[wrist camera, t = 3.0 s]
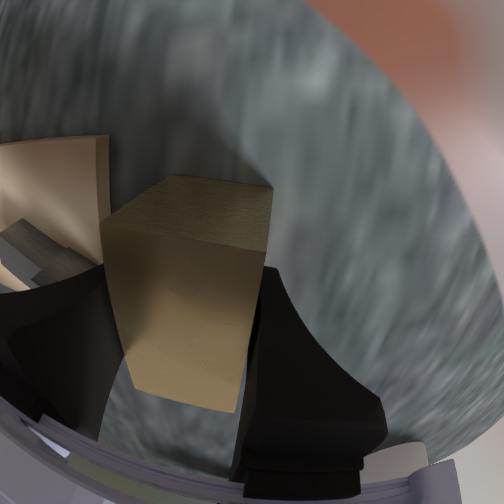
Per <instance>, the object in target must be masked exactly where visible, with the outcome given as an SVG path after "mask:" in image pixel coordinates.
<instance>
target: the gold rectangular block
mask: <svg viewBox="0 0 504 504" xmlns="http://www.w3.org/2000/svg"><path fill="white" fill-rule="evenodd" d="M273 191H274V188H268V187H262V186H256V185H249V184H243V183H236V182H229V181H222V180H215V179H207V178H199V177H191V176H183V175H173V174H171V175H170V176H168V177H166V178H165V179H163V180H162V181H160V182H158V183H157V184H155V185H154V186H152V187H151V188H149V189H148V190H146V191H144V192H143V193H141V194H140V195H138V196H137V197H135V198H134V199H133V200H131V201H130V202H128V203H127V204H125V205H124V206H122V207H121V208H120V209H118V210H117V211H115V212H114V213H112V214H111V215H110V216H108V217H107V218H106V219H104V220H103V221H102V222H100V223H99V232H100V240H101V248H102V255H103V262H104V268H105V274H106V280H107V285H108V290H109V295H110V300H111V305H112V309H113V314H114V318H115V322H116V326H117V330H118V334H119V338H120V341H121V345H122V349H123V352H124V356H125V359H126V362H127V365H128V369H129V372H130V375H131V378H132V381H133V384H134V387H135V389H138V390H141V391H144V392H147V393H150V394H154V395H157V396H160V397H164V398H167V399H171V400H175V401H179V402H183V403H187V404H191V405H195V406H200V407H204V408H209V409H214V410H219V411H224V412H230V413H235V408H236V403H237V399H238V394H239V389H240V384H241V379H242V374H243V369H244V365H245V360H246V355H247V350H248V345H249V340H250V335H251V330H252V325H253V319H254V314H255V309H256V304H257V299H258V294H259V289H260V283H261V278H262V273H263V268H264V262H265V257H266V251H267V243H268V234H269V226H270V217H271V209H272V200H273Z"/></svg>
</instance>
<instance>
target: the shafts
mask: <svg viewBox="0 0 504 504" xmlns="http://www.w3.org/2000/svg"><path fill="white" fill-rule="evenodd" d="M0 261H1V264H2V265H3V266H4V267H5V268H6V269H7V270H9V271H10V272H11V273H12V274H13V275H14V276H15V277H17V278H18V279H19V280H20V281H21V282H23V283H24V284H25V285H26V286H28V287H29V288H30V289H33V288H37V287H41V286H44V285H48V284H52V283H55V282H58V281H61V280H64V279H67V278H70V277H73V276H75V275H78V274H80V273H83V272H85V271H87V270H89V269H91V268H94V267H96V266H98V265H97V264H96V263H94V262H92V261H91V260H89V259H87V258H86V257H84V256H83V255H81V254H79V253H78V252H76V251H75V250H73V249H72V248H70V247H67V248H65V247H63V246H62V245H60V244H59V243H57V242H56V241H54V240H53V239H51V238H50V237H48V236H47V235H46V234H44V233H43V232H41V231H40V230H38V229H37V228H36V227H34V226H33V225H32V224H30V223H29V222H27V221H26V220H25V219H23V218H22V219H20V220H18V221H17V222H15V223H14V224H12V225H11V226H9V227H8V228H6V229H5V230H3V231H2V232H0Z"/></svg>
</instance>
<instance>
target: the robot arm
mask: <svg viewBox="0 0 504 504" xmlns="http://www.w3.org/2000/svg"><path fill="white" fill-rule="evenodd" d="M123 357H124V352H123V349H122V345H121V341H120V338H119V334H118V330H117V326H116V322H115V318H114V314H113V309H112V305H111V300H110V295H109V290H108V285H107V280H106V274H105V268H104V263H103V264H100V265H98V266H96V267H94V268H91V269H89V270H87V271H85V272H83V273H80V274H78V275H75V276H73V277H70V278H67V279H64V280H61V281H58V282H55V283H52V284H48V285H44V286H41V287H37V288H33V289H29V290H24V291H18V292H12V293H3V294H0V504H153V503H150V502H147V501H144V500H142V499H139V498H136V497H134V496H131V495H128V494H126V493H123V492H121V491H119V490H116V489H114V488H112V487H109V486H107V485H105V484H103V483H101V482H99V481H97V480H94V479H92V478H90V477H88V476H87V475H85V474H83V473H81V472H79V471H77V470H75V469H73V468H72V467H70V466H68V465H67V464H68V460H67V459H66V458H65V457H66V456H67V455H68V454H69V453H70V452H71V453H73V454H75V455H77V456H78V457H81V458H82V459H84V460H86V461H88V462H90V463H92V464H95V465H97V466H99V467H101V468H103V469H106V470H108V471H110V472H113V473H115V474H117V475H120V476H122V477H125V478H127V479H130V480H133V481H135V482H138V483H141V484H144V485H147V486H150V487H153V488H156V489H159V490H163V491H166V492H170V493H174V494H177V495H181V496H185V497H189V498H194V499H198V500H203V501H209V502H214V503H220V504H462V501H461V495H460V489H459V483H458V478H457V472H456V468H455V463H454V459H449V460H447V461H443V462H439V463H436V464H432V465H429V466H426V467H423V468H421V469H419V470H417V471H415V472H413V473H412V474H410V475H409V476H407V477H402V478H397V479H392V480H386V481H380V482H374V483H366V484H360V471H361V470H363V469H364V459H363V457H364V456H365V455H367V454H368V453H369V452H371V451H372V450H373V449H375V448H376V447H377V446H379V445H380V444H381V443H382V442H383V441H384V439H385V438H386V436H387V434H388V428H387V423H386V418H385V413H384V410H383V407H382V404H381V400H380V398H379V397H378V396H376V395H375V394H374V393H372V392H371V391H370V390H368V389H367V388H365V387H364V386H363V385H361V384H360V383H359V382H357V381H356V380H355V379H354V378H353V377H351V376H350V375H349V374H348V373H347V372H346V371H345V370H344V369H342V368H341V367H340V366H339V365H338V364H337V363H336V362H335V361H334V360H333V359H332V358H331V357H330V356H329V355H328V353H327V352H326V351H325V350H324V349H323V348H322V347H321V346H320V345H319V343H318V342H317V341H316V340H315V338H314V337H313V336H312V334H311V333H310V332H309V330H308V329H307V327H306V326H305V324H304V323H303V321H302V320H301V318H300V316H299V315H298V313H297V311H296V310H295V308H294V306H293V304H292V302H291V300H290V298H289V296H288V294H287V292H286V290H285V287H284V285H283V283H282V280H281V277H280V274H279V271H278V270H277V268H273V267H267V266H264V268H263V273H262V278H261V283H260V289H259V294H258V299H257V304H256V309H255V314H254V319H253V325H252V330H251V335H250V340H249V345H248V354H247V373H246V385H245V392H244V398H243V404H242V410H241V416H240V422H239V428H238V433H237V439H236V445H235V450H234V456H233V461H232V467H231V472H230V477H229V481H223V480H218V479H212V478H207V477H202V476H197V475H193V474H189V473H185V472H181V471H177V470H173V469H169V468H166V467H162V466H159V465H156V464H153V463H150V462H147V461H144V460H141V459H138V458H135V457H132V456H130V455H127V454H124V453H122V452H119V451H117V450H114V449H112V448H109V447H107V446H105V445H102V444H100V443H98V437H99V432H100V427H101V423H102V418H103V414H104V411H105V407H106V404H107V400H108V397H109V394H110V391H111V388H112V385H113V382H114V379H115V376H116V374H117V371H118V369H119V366H120V364H121V361H122V359H123Z"/></svg>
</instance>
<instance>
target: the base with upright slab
mask: <svg viewBox="0 0 504 504" xmlns="http://www.w3.org/2000/svg"><path fill="white" fill-rule="evenodd" d="M363 459H364V469H363V470H361V471H360V484H366V483H374V482H380V481H386V480H392V479H397V478H402V477H407V476H409V475H410V474H412V473H413V472H415V471H417V470H419V469H421V468H423V467H426V466H429V464H428V459H427V454H426V449H425V445H424V443H423V442H410V443H404V444H400V445H396V446H393V447H389V448H386V449H383V450H380V451H377V452H374V453H372V454H369V455H367V456H365V457H363Z"/></svg>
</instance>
